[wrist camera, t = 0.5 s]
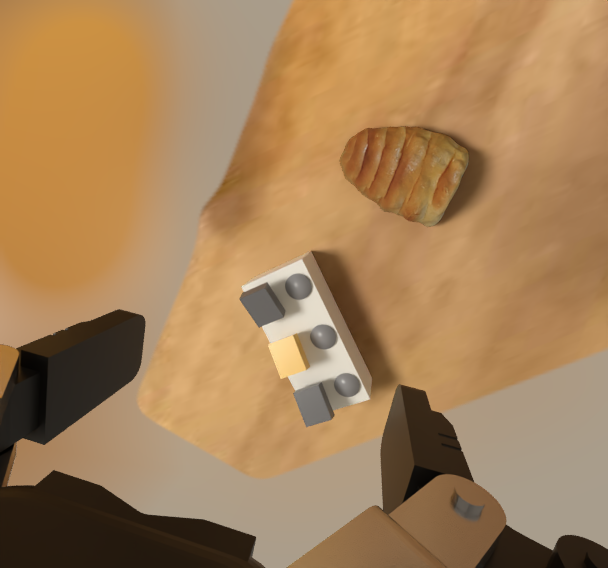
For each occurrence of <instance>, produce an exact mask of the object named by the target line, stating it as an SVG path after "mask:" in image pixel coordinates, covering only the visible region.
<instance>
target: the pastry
mask: <svg viewBox="0 0 608 568" xmlns="http://www.w3.org/2000/svg"><path fill="white" fill-rule="evenodd" d="M468 160H469V153H468V151H467V150H466V148H464V147H461V146H459V145H458V144H456V143H455V141H454V140H453V139H451V138H450V137H449V136H447V135H445V134H442V133H434V132H431V131H427V130H424V129H422V128H419V127H411V128H410V127H388V128H374V129H372V128H366V129H364V130H363V131H361V132H359V133H358V134H356V135H355V136H353V137H352V138H351V139H350V140H349V141H348V143H347V144H346V146H345V149H344V151H343V153H342V155H341V157H340V165H341V167H342V170H343V173H344V176H345V178H346V180H348V181H349V182H350V183H351V184H353V185H354V186H355V187H356V188H357V189H358V191H360V192H361V193H362V194H363V195H364V196H365V197H367V198H369V199H370V200H372V201H374V202H376V203H377V204H378V205H379V207H380V208H381V209H382V210H383V211H385V212H391V213H395V214H397V215H400V216H403V217H404V218H405V219H407V220H408V221H412V222H419V223H422V224H423V225H424V226H426V227H431V226H434V225H436V224H437V223H438V222H439V221H440V219H441V218H442V216H443V215H444V212H445V209H446V208H447V206H448V204H449V202H450V201H451V199H452V198H453V196H454V194H455V192H456V191H457V189H458V187H459V184H460V181H461V178H462V176H463V174H464V172H465V170H466V168H467V166H468Z"/></svg>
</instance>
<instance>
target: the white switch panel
mask: <svg viewBox="0 0 608 568" xmlns="http://www.w3.org/2000/svg"><path fill="white" fill-rule="evenodd" d="M266 282H268V284H269V285H270V287H271V289H272V290H273V292H274V293H275V295H276V296H277V298H278V300H279V301H280V303H281V304H282V306H283V307H284V309H285V310H286V312H285V315H284V318H281V319H279V320H276V321H274V322H271V323H269V324H266V325H264V326H262V328H263V330H264V332H265V333H266V335H267V337H268V339H269V341H270V343H273V342H275V341H278V340H280V339H283V338H286V337H288V336H291V335H293V334H296V333H297V334H298V337H299V339H300V342H301V345H302V347H303V350H304V352H305V355H306V357H307V360H308V362H309V365H310V368H308V369H307V370H305V371H302V372H299V373H297V374H294V375H291V376H288V378H289V380H290V382H291V383H292V385H293V387H294V389H295V391H296V390H298V389H301V388H304V387H307V386H310V385H313V384H316V383H319V382H322V384H323V387H324V389H325V392H326V394H327V397H328V399H329V402H330V405H331V407H332V410H336V409H339V408H343V407H346V406H349V405H353V404H356V403H359V402H363V401H366V400H369V399H370V396H371V385H372V377H371V375H370V373H369V371H368V368H367V366H366V364H365V362H364V360H363V358H362V356H361V354H360V352H359V350H358V348H357V346H356V343H355V341H354V339H353V337H352V335H351V333H350V331H349V329H348V327H347V325H346V323H345V321H344V318H343V316H342V314H341V312H340V310H339V308H338V306H337V304H336V302H335V300H334V298H333V295H332V293H331V291H330V289H329V287H328V285H327V283H326V281H325V279H324V277H323V275H322V273H321V270H320V268H319V266H318V264H317V262H316V260H315V258H314V256H313V254H312V252H311V251H309V252H307V253H305V254H303V255H301V256H298V257H296V258H294V259H292V260H290V261H288V262H285V263H283V264H281V265H279V266H277V267H274V268H272V269H270V270H268V271H266V272H263V273H261V274H259V275H257V276H255V277H254V278H252V279H251V280H250V281H248V282H247V283H245V284H244V285H243V286H241V287H242V289H243V291H244V292H246V291H248V290H250V289H252V288H255V287H257V286H259V285H261V284H264V283H266Z"/></svg>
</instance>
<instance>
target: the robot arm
mask: <svg viewBox="0 0 608 568" xmlns="http://www.w3.org/2000/svg"><path fill="white" fill-rule="evenodd" d="M144 333H145V319H144V317H143V316H142V315H139V314H135V313H131V312H128V311H124V310H120V309H119V310H115V311H113V312H111V313H108V314H106V315H103V316H101V317H98V318H96V319H94V320H91V321H87V322H81V323H78V324H76V325H73V326H71V327H68V328H66V329H65V330H61V331H58V332H56V333H54V334H53V335H48V336H46V337H44V338H41V339H38V340H36V341H33V342H31V343H29V344H26V345H23V346H21V347H19V348H16V349H15V348H13V347H10V346H8V345H3V344H0V568H265V567H264V566H263V565H262V564H261V563H259V562H258V561H256V560H255V559H253V558H252V554H253V550H254V545H255V541H256V537H255V536H252V535H249V534H246V533H243V532H240V531H237V530H234V529H231V528H228V527H225V526H222V525H219V524H216V523H213V522H210V521H207V520H203V519H191V518H179V517H168V516H157V515H147V514H143V513H140V512H139V511H137V510H136V509H134V508H133V507H131V506H130V505H129V504H127V503H126V502H124V501H123V500H121V499H120V498H118V497H117V496H115V495H114V494H112V493H111V492H109V491H108V490H106V489H105V488H104V487H102V486H100V485H97V484H94V483H91V482H88V481H85V480H82V479H79V478H76V477H73V476H70V475H67V474H64V473H61V472H58V471H55V470H53V471H52V472H51V473H50V474H49V475H47V476H46V477H45V478H44V479H43V480H42V481H40V482H39V483H38V484H37V485H36V486H28V485H27V486H7V485H8V481H9V477H10V474H11V471H12V467H13V464H14V460H15V456H16V447H17V445H16V444H17V441H19V440H20V439H22V438H24V439H27V440H31V441H34V442H37V443H40V444H43V445H45V444H46V443H48V442H49V441H50V440H52V439H53V438H54V437H56V436H57V435H58V434H60V433H61V432H63V431H64V430H65V429H66V428H68V427H69V426H71V425H72V424H73V423H75V422H76V421H78V420H79V419H80V418H82V417H83V416H84V415H86V414H87V413H88V412H90V411H91V410H92V409H94V408H95V407H96V406H98V405H99V404H101V403H102V402H103V401H105V400H106V399H107V398H109V397H110V396H112V395H113V394H114V393H115V392H117V391H118V390H119V389H121V388H122V387H124V386H125V385H126V384H128V383H129V382H131V381H132V380H133V379H134V377H135V376H136V374H137V372H138V371H139V368H140V365H141V359H142V350H143V342H144ZM381 472H382V473H381V475H382V496H383V510H382V509H381V508H380V507H379V506H372V507H370V508H368V509H367V510H365V511H364V512H362V513H361V514H360V515H358V516H357V517H356V518H354V519H353V520H351V521H350V522H349V523H347V524H346V525H345V526H343V527H342V528H340V529H339V530H338V531H336V532H335V533H334V534H332V535H331V536H329V537H328V538H327V539H325V540H324V541H322V542H321V543H320V544H318V545H317V546H316V547H314V548H313V549H312V550H310V551H309V552H307V553H306V554H305V555H303V556H302V557H301V558H299V559H298V560H296V561H295V562H294V563H292V564H291V565H289V566H288V567H287V568H608V549H606V548H604V547H603V546H601V545H599V544H597V543H595V542H593V541H591V540H588V539H586V538H583V537H579V536H574V535H565V536H562V537H560V538H559V539H558V541H557V543H556V545H555V547H554V550H551V549H549V548H547V547H545V546H543V545H541V544H539V543H537V542H535V541H533V540H531V539H529V538H528V537H526V536H524V535H522V534H520V533H519V532H517V531H515V530H513V529H512V528H510V527H509V526H507V525H506V516H505V513H504V510H503V509H502V507H501V505H500V504H499V503H498V501H497V500H496V499H495V498H494V497H493V496H492V495H491V494H490V493H489V492H487V491H486V490H485V489H483V488H482V487H481V486H479V485H478V484H476V483H474V480H473V478H472V475H471V473H470V470H469V467H468V465H467V462H466V459H465V457H464V454H463V452H462V451H461V446H460V444H459V441H458V440H457V436H456V433H455V430H454V428H453V425H452V424H451V423H450V422H449V421H448V420H447V419H446V418H445V417H444V416H443V415H442V413H439V412H435V411H432V410H431V408H430V405H429V401H428V398H427V395H426V392H425V391H423V390H419V389H415V388H411V387H408V386H404V385H400V384H399V385H398V387H397V389H396V392H395V395H394V398H393V402H392V405H391V409H390V412H389V415H388V419H387V422H386V426H385V429H384V433H383V437H382V443H381Z"/></svg>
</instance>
